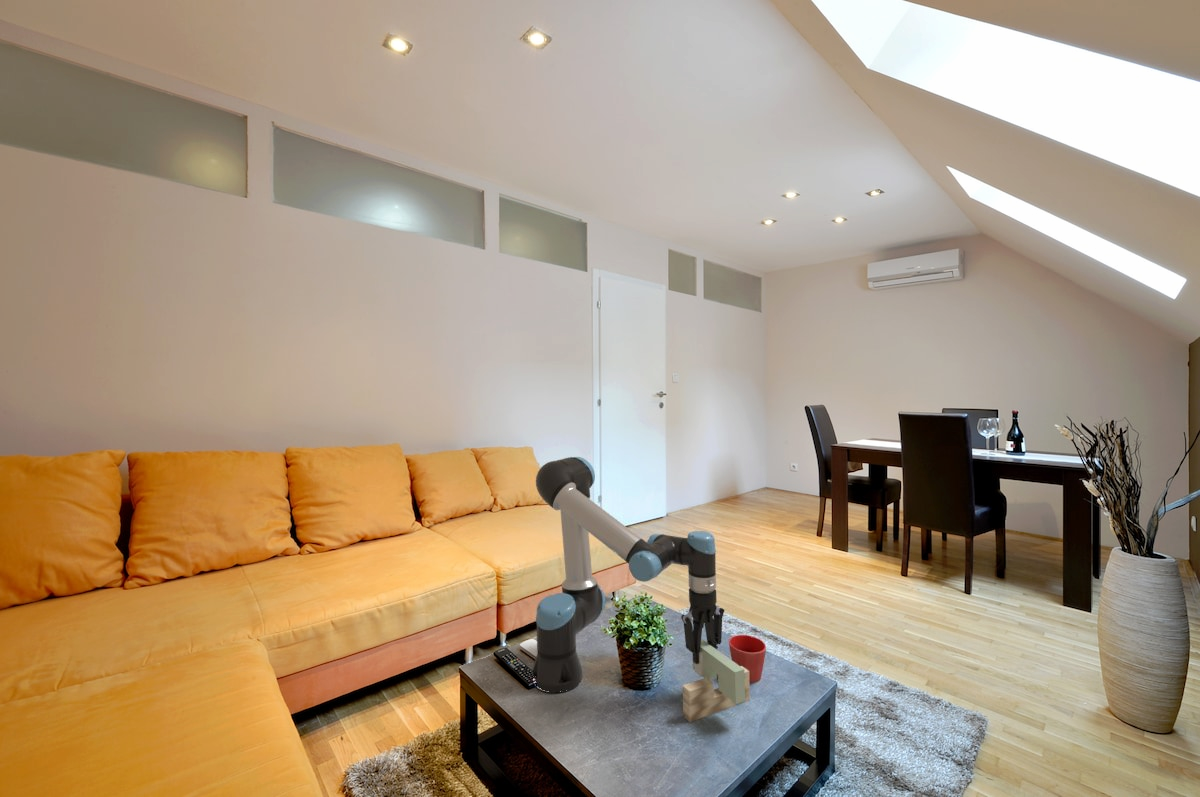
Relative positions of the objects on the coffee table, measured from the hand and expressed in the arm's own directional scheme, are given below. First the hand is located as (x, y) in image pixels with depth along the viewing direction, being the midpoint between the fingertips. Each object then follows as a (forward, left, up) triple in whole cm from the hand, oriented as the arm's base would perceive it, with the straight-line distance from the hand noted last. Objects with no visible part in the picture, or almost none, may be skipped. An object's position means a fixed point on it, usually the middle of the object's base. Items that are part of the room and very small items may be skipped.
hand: (704, 671), depth 135 cm
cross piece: (+4, -4, 0) cm, 6 cm away
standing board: (+4, -4, -7) cm, 9 cm away
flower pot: (+11, +14, -7) cm, 19 cm away
